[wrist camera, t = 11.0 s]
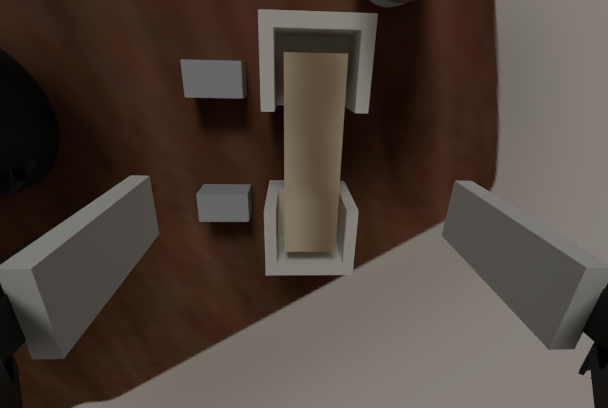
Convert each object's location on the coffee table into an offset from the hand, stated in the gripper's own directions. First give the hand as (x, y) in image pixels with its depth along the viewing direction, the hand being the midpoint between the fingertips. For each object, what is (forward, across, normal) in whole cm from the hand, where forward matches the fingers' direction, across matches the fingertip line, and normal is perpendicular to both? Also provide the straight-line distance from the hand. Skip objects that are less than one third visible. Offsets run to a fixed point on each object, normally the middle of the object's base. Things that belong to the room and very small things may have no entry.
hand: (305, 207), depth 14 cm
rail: (+16, +1, -1) cm, 17 cm away
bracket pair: (+19, +1, -1) cm, 20 cm away
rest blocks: (+20, -7, -2) cm, 21 cm away
